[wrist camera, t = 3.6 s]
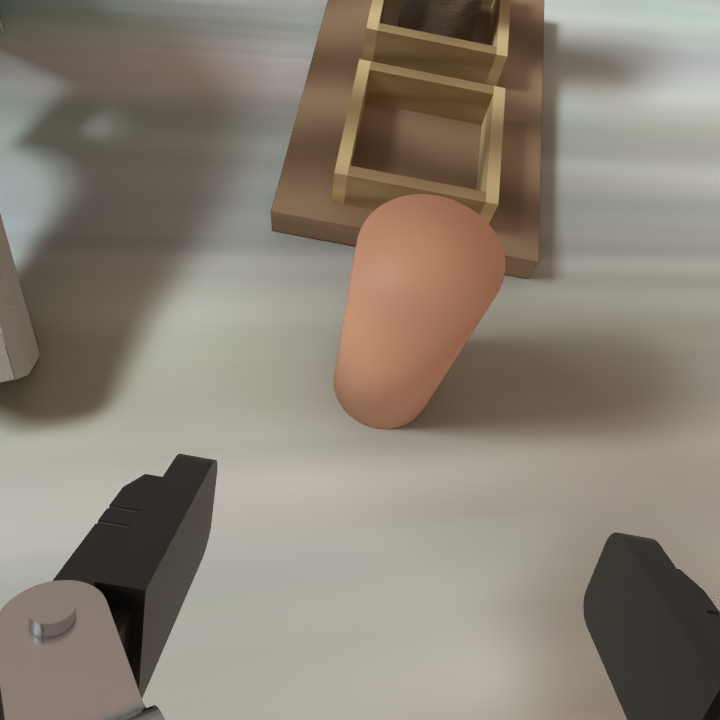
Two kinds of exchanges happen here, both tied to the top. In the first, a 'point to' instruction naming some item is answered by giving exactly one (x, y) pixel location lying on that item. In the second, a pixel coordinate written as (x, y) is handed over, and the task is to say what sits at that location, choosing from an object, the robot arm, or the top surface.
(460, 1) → the pin
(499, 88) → the wooden compartment tray
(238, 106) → the top surface
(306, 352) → the top surface
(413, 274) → the pin
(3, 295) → the handgun
